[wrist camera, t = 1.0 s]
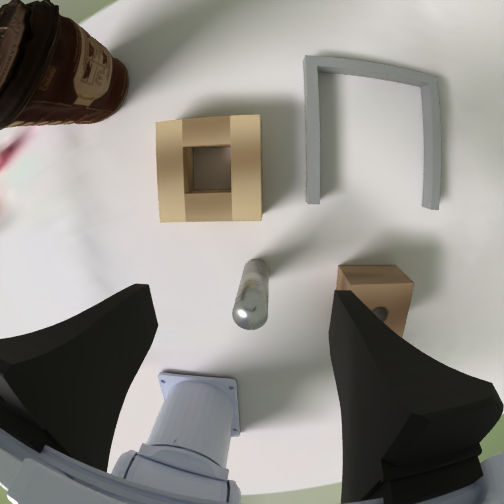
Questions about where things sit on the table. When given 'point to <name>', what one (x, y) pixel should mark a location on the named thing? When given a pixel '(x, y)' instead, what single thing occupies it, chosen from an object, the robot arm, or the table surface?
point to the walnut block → (379, 291)
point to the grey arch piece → (385, 73)
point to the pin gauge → (252, 296)
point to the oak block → (181, 169)
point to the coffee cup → (54, 69)
